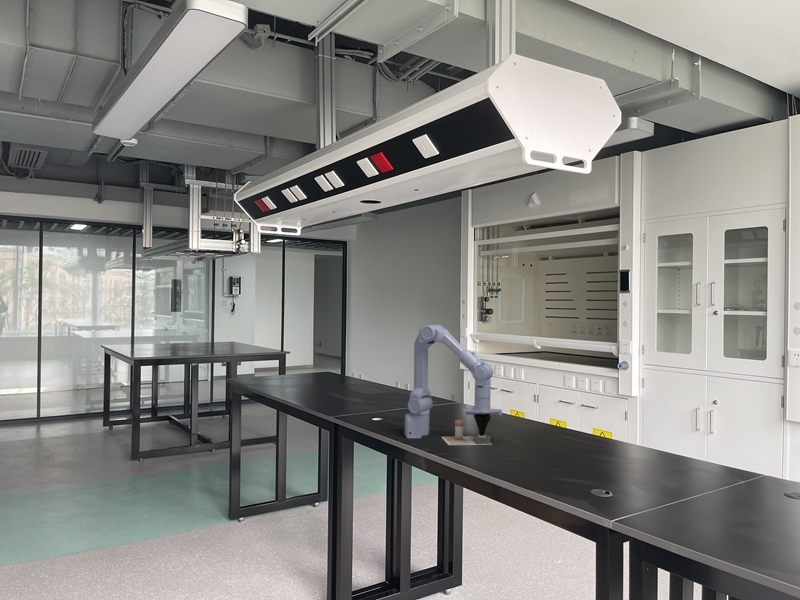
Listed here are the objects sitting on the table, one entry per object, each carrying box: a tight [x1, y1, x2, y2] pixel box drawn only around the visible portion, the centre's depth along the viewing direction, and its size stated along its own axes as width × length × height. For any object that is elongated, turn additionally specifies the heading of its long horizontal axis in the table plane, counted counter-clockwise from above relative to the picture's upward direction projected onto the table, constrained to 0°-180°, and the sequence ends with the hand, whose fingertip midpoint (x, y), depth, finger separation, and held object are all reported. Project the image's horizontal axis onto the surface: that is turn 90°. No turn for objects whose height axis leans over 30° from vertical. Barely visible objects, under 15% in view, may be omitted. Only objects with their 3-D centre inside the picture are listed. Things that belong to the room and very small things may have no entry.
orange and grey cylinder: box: [454, 418, 464, 440], centre depth 215 cm, size 3×3×7 cm
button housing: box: [472, 434, 491, 444], centre depth 210 cm, size 5×5×2 cm
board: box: [441, 436, 493, 446], centre depth 213 cm, size 16×13×1 cm
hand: (481, 434), depth 210 cm, fingers closed
